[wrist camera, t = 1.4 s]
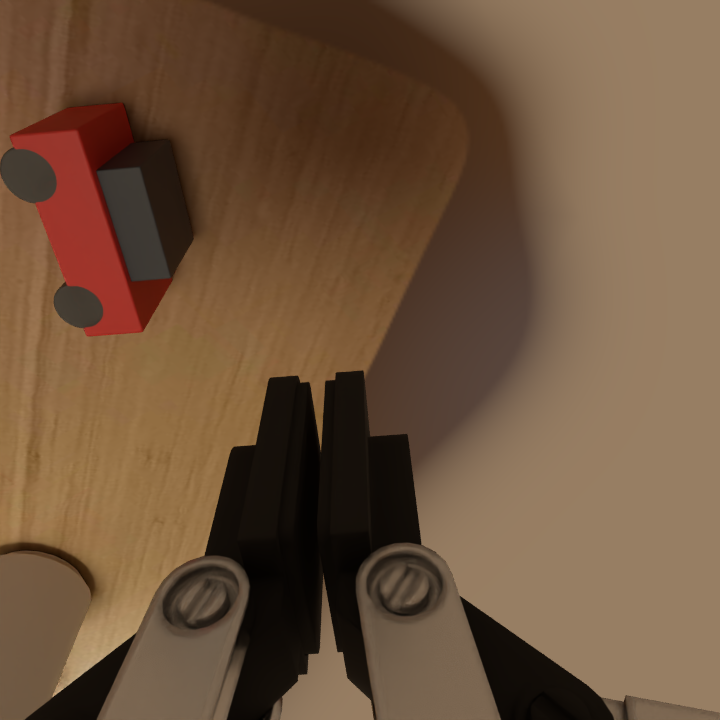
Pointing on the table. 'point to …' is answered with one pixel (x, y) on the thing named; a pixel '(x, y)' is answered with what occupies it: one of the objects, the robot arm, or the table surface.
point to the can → (36, 627)
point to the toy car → (102, 213)
